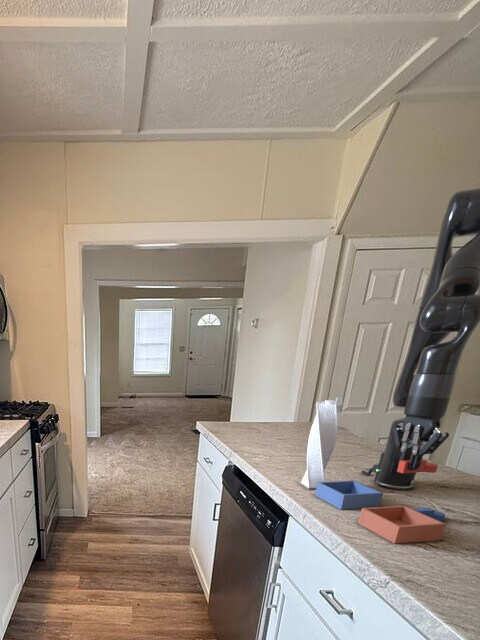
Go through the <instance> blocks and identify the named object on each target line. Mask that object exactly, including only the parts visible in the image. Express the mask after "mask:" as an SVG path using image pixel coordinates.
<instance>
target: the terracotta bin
mask: <svg viewBox="0 0 480 640" xmlns="http://www.w3.org/2000/svg"><path fill="white" fill-rule="evenodd" d="M413 509H414V508H410V507H409V506H406V505H395V506H380V507H373V508H361V511H360V515H359V519H358V522H357V524H359V525H361V526H362V527H364V528H366V529H367V530H369V531H371V532H373V533H375V534H377V535H378V536H380V537H382V538H384V539H386V540H387V541H389V542H391V543H393V544H405V543H406V544H407V543H420V542H436V541H438V542H439V541H441V540H442V536H443V535H444V531H445V527H446V525H447V524H446V523H445V522H444V521H438V520H436V519H433V518H431V517H429V516H427V515H424V514H422V513H420V512H417V511H415V510H413Z"/></svg>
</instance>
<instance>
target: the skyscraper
mask: <svg viewBox="0 0 480 640" xmlns="http://www.w3.org/2000/svg"><path fill="white" fill-rule="evenodd" d="M339 399H340V403H339V402H338V401H339ZM315 403H316V404H315V405H316V415H315V417H314V420H313V423H312V425H311V428H310V431H309V435H308V442H307V449H306V451H307V452H306V471H305V473H304V475H303V477H302V479H301V480H298V483H299V484H300V485H301V486H303V487H304V488H306V489H308V490H316V489H317V484H318V482H326V479H325V470H326V468H327V466H328V464H329V462H330V460H331V457H332V454H333V452H334V449H335V446H336V442H337V438H338V428H339V419H338V418H339V411H340V409H341V408H342V406H343V404H344V403H343V398H342V396H339V395H338V396H337V397H335V400H333V399H326V400H323V399H320V400H318V401H316V402H315Z"/></svg>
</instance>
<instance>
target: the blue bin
mask: <svg viewBox="0 0 480 640" xmlns="http://www.w3.org/2000/svg"><path fill="white" fill-rule="evenodd" d="M383 495H384V493H383V492H381V491H379V490H377V489H375V488H372V487H370V486H368V485H365V484H364V483H363V484H362V483H360V482H358V481H356V480H339V481H337V480H336V481H325V482H318V484H317V489H315V494H314V496H315V497H317V498H319V499H321V500H323V501H325V503H326V502H327V503H328V504H330V505H331V506H334V507H336V508H338V509H340V510H353V509H356V510H357V509H362V508H374V507H381V503H382V499H383Z"/></svg>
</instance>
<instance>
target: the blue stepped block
mask: <svg viewBox="0 0 480 640" xmlns="http://www.w3.org/2000/svg"><path fill="white" fill-rule="evenodd" d="M412 509H413V510H415V511H417V512H420V513H422V514H424V515H427V516H429V517H431V518H433V519H436V520H438V521H440V522H444V521H445V517H446V514H445V513H444V512H441V511H439V510H436V509H432V508H430V507H419V508H412Z"/></svg>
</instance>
